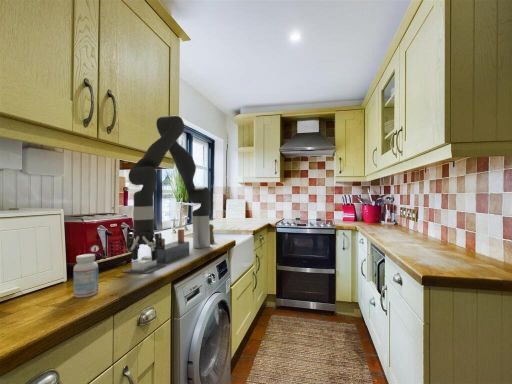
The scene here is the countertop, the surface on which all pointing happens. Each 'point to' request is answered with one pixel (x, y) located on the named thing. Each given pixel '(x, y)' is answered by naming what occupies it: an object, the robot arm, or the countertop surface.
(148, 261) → the lever cap
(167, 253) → the bench plane
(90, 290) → the pill bottle
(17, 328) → the countertop surface
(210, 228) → the cork
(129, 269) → the rubber mat
